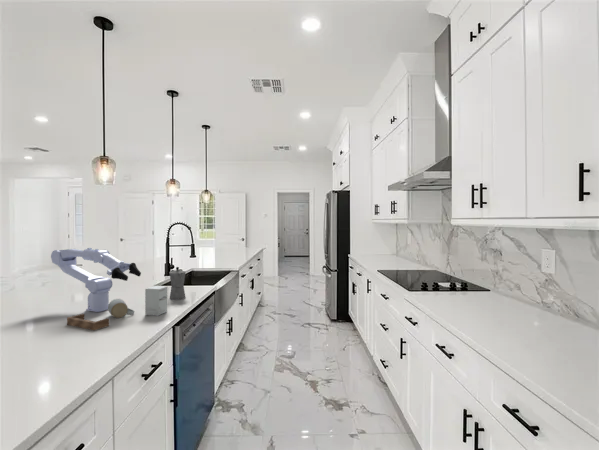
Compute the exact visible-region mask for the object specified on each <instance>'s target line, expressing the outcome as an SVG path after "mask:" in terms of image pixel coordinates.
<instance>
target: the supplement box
mask: <svg viewBox="0 0 599 450" xmlns="http://www.w3.org/2000/svg"><path fill="white" fill-rule="evenodd" d="M144 290H145V291H144V295H145V296H144V297H145V299H144V302H145V305H144V306H145V308H144V309H145V310H144V314H145V315H146V316H160V315H162V314H163V315H164V313H167V312H168V286H166V285H165V286H164V285H154V286H150V287H147V288H145V289H144Z"/></svg>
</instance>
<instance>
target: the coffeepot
mask: <svg viewBox="0 0 599 450" xmlns="http://www.w3.org/2000/svg"><path fill="white" fill-rule="evenodd" d="M175 268H176V269H171V270H170V271H169V278H170V279H169V280H170V284H171V286H170V287H171V288H170V293H169V300H176V301H177V300H184V299H185V298H186V293H185V285H184V284H185V278H186V271H185V270H181V269H180V270H179V268H180V267H178V266H176V267H175Z"/></svg>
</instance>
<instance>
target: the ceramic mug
mask: <svg viewBox="0 0 599 450" xmlns="http://www.w3.org/2000/svg"><path fill="white" fill-rule="evenodd" d="M107 311H108V312H109V314H110V315H111V316H112V317H113V318H116V319H121V318H123V317H125V316H126V315H131V316H133V315H134V313H135V310H134V309H132V308H129V307H128V305H127V303H126V301H125V300H123V299H121V298H114V299H112V300H111V301H109V305H108V310H107Z"/></svg>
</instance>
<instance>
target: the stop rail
mask: <svg viewBox="0 0 599 450" xmlns="http://www.w3.org/2000/svg"><path fill="white" fill-rule="evenodd" d="M66 326H72V327H76V328H79V329H80V328H81V329H86V330H89V331H90V330H91V331H97V330H100V329H103V328H106V327H109V326H110V318H107V317H106V318H104V319H100V320H95V321H93V320H89V319H85V314H84V313H81V314H77V315H72V316H68V317H67V318H66Z"/></svg>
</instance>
